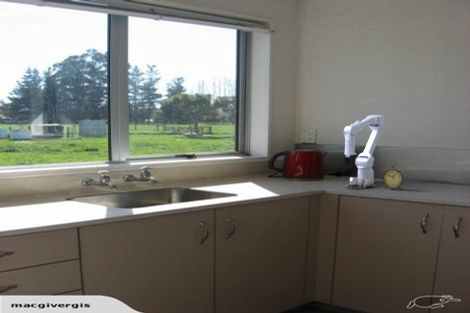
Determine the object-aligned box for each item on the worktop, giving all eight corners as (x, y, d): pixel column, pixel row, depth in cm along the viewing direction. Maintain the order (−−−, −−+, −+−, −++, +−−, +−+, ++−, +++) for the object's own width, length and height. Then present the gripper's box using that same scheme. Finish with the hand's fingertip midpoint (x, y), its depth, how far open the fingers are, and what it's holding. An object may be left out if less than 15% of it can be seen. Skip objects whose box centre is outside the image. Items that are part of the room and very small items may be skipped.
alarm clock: (381, 189, 235) (383, 160, 234) (383, 187, 240) (384, 159, 238) (402, 190, 230) (403, 161, 228) (403, 189, 235) (404, 161, 233)
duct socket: (365, 185, 247) (365, 176, 247) (376, 187, 239) (376, 178, 239) (342, 187, 239) (342, 178, 239) (353, 189, 231) (353, 180, 231)
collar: (348, 187, 240) (348, 177, 239) (356, 187, 240) (356, 177, 239) (350, 188, 235) (350, 178, 235) (358, 188, 235) (358, 178, 235)
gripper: (354, 146, 241) (353, 169, 242) (358, 145, 254) (357, 167, 255) (342, 146, 244) (341, 169, 245) (346, 144, 257) (346, 166, 258)
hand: (349, 168), depth 250 cm, fingers open, 7 cm apart
